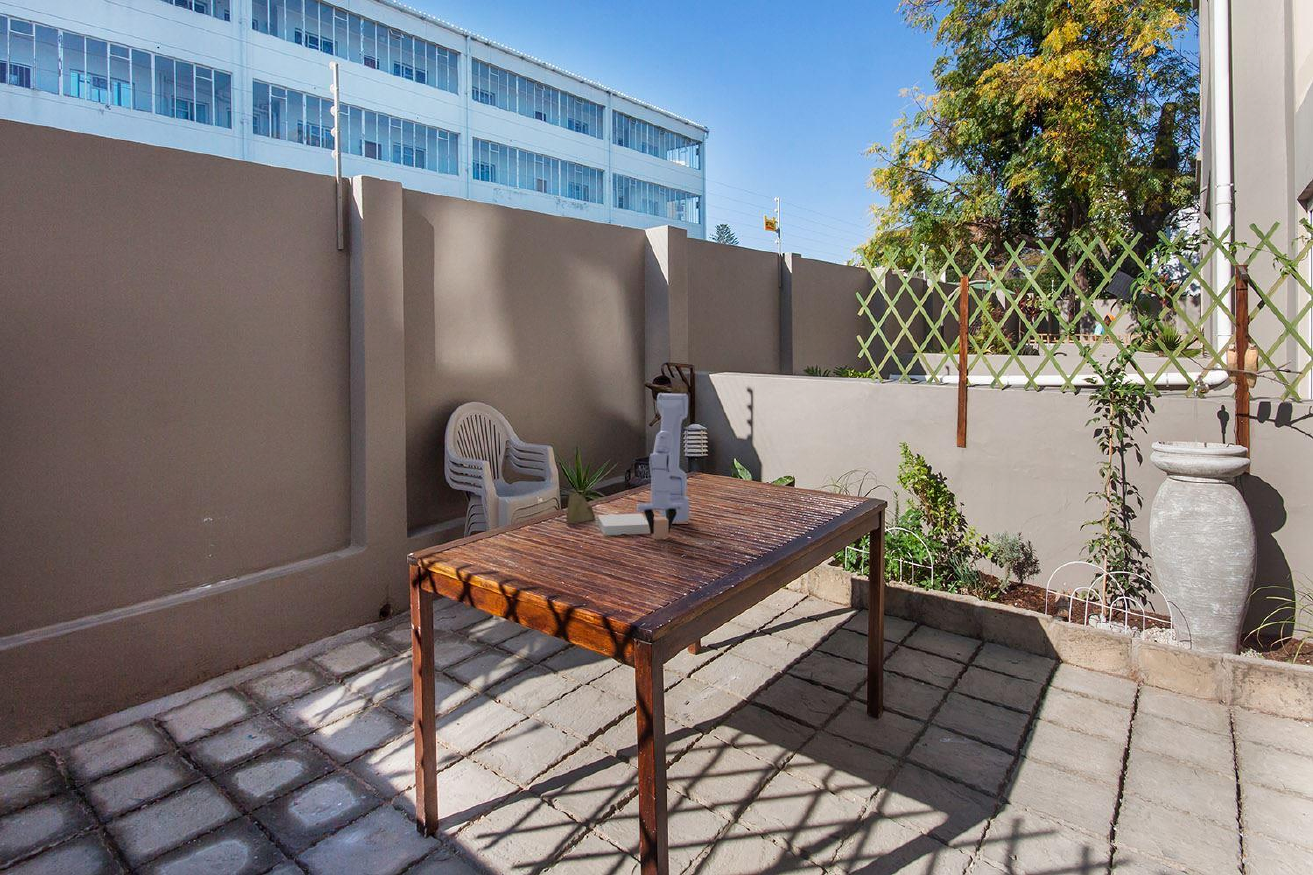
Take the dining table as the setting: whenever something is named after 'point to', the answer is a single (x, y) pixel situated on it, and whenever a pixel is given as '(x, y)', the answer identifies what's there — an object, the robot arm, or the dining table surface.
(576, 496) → the rock
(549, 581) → the dining table surface
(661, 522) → the terracotta block
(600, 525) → the base plinth
